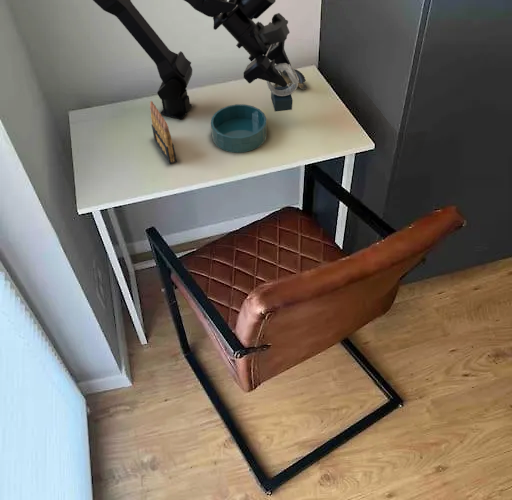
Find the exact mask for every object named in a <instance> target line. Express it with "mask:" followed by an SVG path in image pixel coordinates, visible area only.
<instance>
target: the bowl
mask: <svg viewBox="0 0 512 500" xmlns="http://www.w3.org/2000/svg"><path fill="white" fill-rule="evenodd" d="M267 120H268V119H267V116H266V114H265V112H263V111H262V110H261V109H260V108H258V107H255V106H254V105H249V104H244V103H243V104H242V103H241V104H239V103H237V104H236V103H235V104H231V105H226V106H224V107H222V108H220V109H218V110H217V111H215V112H214V114H213V115H212V116H211V118H210V131H211V136H212V141H213V143H214V144H215V146H216V147H218V148H219V149H220V150H222V151H225V152H228V153H240V154H241V153H246V152H247V153H248V152H250V151H253V150H256V149H258V148H260V147H261V146H263V144H264V143H265V141H266V139H267V135H268V133H267V132H268V131H267V128H268V126H267V125H268V124H267V123H268V122H267Z"/></svg>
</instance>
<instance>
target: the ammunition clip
mask: <svg viewBox="0 0 512 500" xmlns="http://www.w3.org/2000/svg"><path fill="white" fill-rule="evenodd" d="M149 109H150V110H149V111H150V120H151V129H152V130H151V131H152V134H153V140H154V143H155V144H156V145H157V147H158V148H159V150H160V152H161V153H162V155H163V156H164V158H165V159H166V161H167V162H168V165H171V164H175V163H177V162H178V161H177V155H176V150H175V145H174V143H173V139H172V135H171V132H170V129H169V125H168V123H167V121H166V120H165V118H164V116H163V115H161V112H160V111H159V109H158V108H157V107H156V105H155V103H154V102H153V101H152V100H150V102H149Z"/></svg>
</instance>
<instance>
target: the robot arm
mask: <svg viewBox="0 0 512 500" xmlns="http://www.w3.org/2000/svg"><path fill="white" fill-rule="evenodd" d="M92 1H93V2H94V3H95V4H96V5H97V6H98V7H99V8H100V9H102V10H103V11H104V12H105V13H106V12H107V14H111V15H112V16H114V17H116V19H118V21H119V22H120V23H121V24H122V26H123V27H124V28H125V29H126V30H127V32H128V33H129V34H130V35H131V36H132V37H133V39H134V40H135V41H136V42H137V43H138V45H139V46H140V47H141V48H142V49H143V51H144V52H145V53H146V54H147V55H148V57H149V58H150V59H151V60H152V61H153V63H154V64H155V66H156V69H157V72H158V74H159V79H160V80H161V83H160V85H159V88H158V90H157V92H156V94H157V96H158V97H159V99H160V100H161V105H162V110H161V111H160V114H161V116H163V117H164V116H165V117H169V118H173V119H178V120H183V119H184V118H185V116H186V115H187V114H188V113H189V111H190V110H191V109H192V107H193V104H191V102H190V101H191V100H190V96H189V95H188V90H187V87H188V86H189V82H190V80H191V78H192V75H193V66H192V62H191V61H190V60H189V59H188V58H187V56H185V54H184V52H183V51H179V52H178V53H177V52H174V51H172V50H171V49H169V48H168V46H167V45H166V43H165V42H164V41H163V40H162V38H161V37H160V36H159V35H158V33H157V32H156V31H155V30H154V28H153V27H152V26H151V25H150V24H149V22H148V21H147V20H146V19H145V17H144V16H143V15H142V13H140V11H139V10H138V9H137V8H136V6H135V5H134V4H133V2H132V0H92ZM183 1H184V2H186V3H188V4H189V5H190V7H191V8H193V9H194V10H195V11H197V12H199V13H201V14H203V15H204V16H206V17H209V18H212V20H213V26H212V27H213V30H215V31H216V30H217V29H219V27H221V26H223V28H224V29H225V30H226V31H227V32H228V33H229V34H230V35H231V36H232V37H233V39H235V40H236V42H237V44H236V47H237V48H238V49H241V48H243V49H244V50H245V51H246V53H248V54H249V56H248V60H249V61H250V63H248V64H247V66H246V67H245V69H244V71H243V79H244V80H245V81H246V82H247V83H248V84H252V83H253V82H254V81H256V80H261V81H262V80H263V81H266V82H267V81H268V82H271V84H274V85H275V84H277V86H278V87H281V86H282V87H285V86H287V83H286V81H285V80H284V78H283V77H282V76H281V74H280V72H279V71H277V69H276V68H275V65H277V64H282V63H286V64H288V65H289V64H291V62H290V59H289V57H288V55H287V52H286V50H285V43H286V41H287V39H288V35H289V34H290V29H289V27H288V24H289V20H288V19H286V18H285V17H284V16H283V15H282V14H281V13H280V12H278V13H274V14H273V15H272V18H271V21H269V22H268V24H265V25H264V23H262V22H261V21H257V22H254V20H257V19H258V18H259V17H260V16H261V15H263V14H264V13H265V12H266V11H267V10H268V9H270V7H272V6H273V5H274V4H275V3H276V0H183ZM285 71H286V70H285Z"/></svg>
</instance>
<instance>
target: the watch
mask: <svg viewBox="0 0 512 500" xmlns="http://www.w3.org/2000/svg"><path fill="white" fill-rule="evenodd" d="M275 68H276V69H277V71H278V72H279V71H282V72H283V71H284V70H286V72H287V74H288V76H289V78H290V80H291V82H292V83H291V85H289V87H288V86H285V87H282V86H274V85H273V83H271V82H268V81H266V84H267V87H268V89H269V91H270V99H271V103H272V107H273V110H274V112H282V111H283V112H284V111H292V110H293V97H292V94H293V93H294V92H295V91H296V90H297V89H298V87H299V86H298V83H299V79H298V76H297V74H296V72H295V70H294V69H295V68H294V66H293V65H292V64H291V63H290V64H289V65H288V64H286V63H282V64H275Z"/></svg>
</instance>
